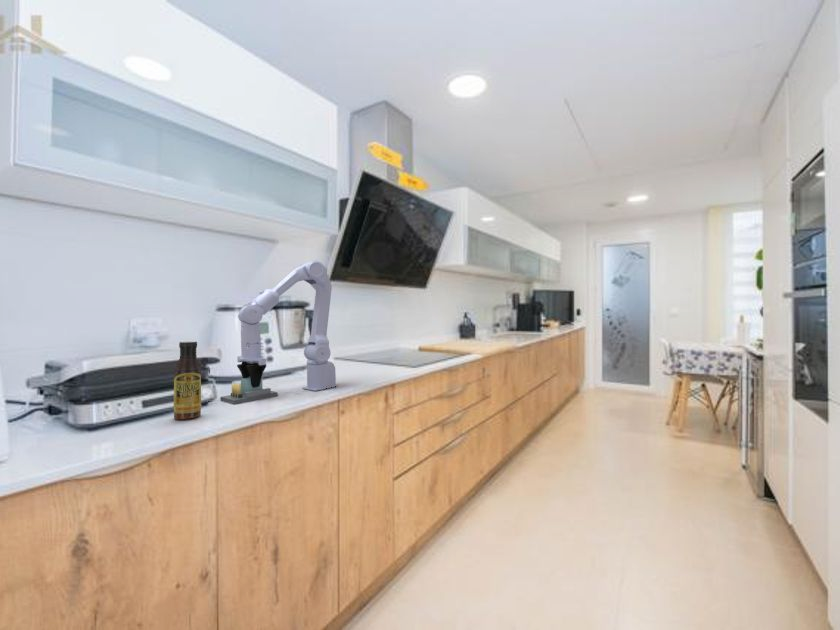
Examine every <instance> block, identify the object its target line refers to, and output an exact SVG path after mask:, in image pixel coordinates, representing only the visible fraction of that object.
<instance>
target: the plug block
mask: <svg viewBox="0 0 840 630" xmlns="http://www.w3.org/2000/svg"><path fill="white" fill-rule="evenodd" d="M240 384H241V394H242V395H244V392H249V391H255V390H260V389H264V388H263V377H262V378H261V382H260V386H259V387H254V388H253V387H252V384H251V378H250V377H249V378H243V377H242V378H241V379H240Z"/></svg>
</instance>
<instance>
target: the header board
mask: <svg viewBox="0 0 840 630" xmlns="http://www.w3.org/2000/svg"><path fill="white" fill-rule="evenodd" d="M278 395H279V393H278V391H275V390H274V391H273V390H272V388H271V387H267V388H263V389H260V390H255V391H249V392H244V395H242V394H241V383H236V382H233V383H231V392H230V395H224V396H220V397H219V398H220V400H221V402H223V401H224V403H227V404H231V405H233V406H234V405H239V404H243V403H249V402H254V401H259V400H265V399H268V398H269V399H270V398H273V397H278Z"/></svg>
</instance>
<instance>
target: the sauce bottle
mask: <svg viewBox="0 0 840 630" xmlns="http://www.w3.org/2000/svg"><path fill="white" fill-rule="evenodd" d="M197 347H198V342H197V341H194V340H193V341H189V340H186V341H185V340H184V341H179V345H178V348H179V359H178V361H177V363H176V364H175V366H174V377H173V418H174V419H175V420H178V419H180V420H184V419H186V420H191V418H192V419H197V418H199V416H201V413H202V412H201V411H202V404H201V366H202V365H201V363H200V362H199V360H198V358H197ZM196 417H197V418H196ZM184 421H185V420H184Z"/></svg>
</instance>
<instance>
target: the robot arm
mask: <svg viewBox="0 0 840 630" xmlns="http://www.w3.org/2000/svg"><path fill="white" fill-rule="evenodd" d="M302 281H304V282H306V283H307V284H310V286H311V287H312V288H313V289H314V290H315V295H314V305H313V314H312V322H311V332H310V336H309V337H308V339H307V343H306V346H305V348H304V349H303V350H304V351H303V355H304V357H305V358H306V359H307V361H306V385H307V386H303V387H301V389H303V390H309V391H313V392H317V391H322V390H326V388H327V389H332V388H335V386H337V387H338V385H337V379H336V378H337V377H336V376H337V375H336V366H335V364H334V363H333V362H332V361H329V359H330V357H331V349H330V341H329V339H328V337H327V335H328V334H327V333H328V325H329V324H328V323H329V316H330V309H331V307H330V305H331V296H332V287H333V285H332V283H331V280H330V278H329V274H328V268H327V267H326V265H324V263H322V262H321V261H319V260H311V261H310V262H304V263H302V264H301V265H299V266H298V267H296V268H294V269H293V270H291V272H290V273H288V275H286V276H285V277H284V278H283V279H282V280H281V281H280V282H278V283H277V285H276V286H274V287H272V288H271V289H270V288H266V289H265V290H264V289H262V290H260V291H259V294H258V295H257V296H256V297H255V298H254V299H252V300H249V301H248V302H247V304H248V305H246V306H243V307H242V308H240V310H239V312H238V315H237V318H238V320H239V321H240V347H241V348H240V349H241V355H239V356H238V355H237V356H236V357H237V360H236V361H237V363H239V364H236V367H237V368H238V370H239V372H240V374H241V376H242V379H243V378H249V377H250V378H251V384H252V387H253V388H254V387H259V386H260V382H261V378H262V379H263V377H262V376H263V374H264V371H265V369H266V368H267V358H266V357H263V356H262V349H261V347H262V345H261V327H260V325H261V321H262V318H263V316H264V315H266V314H268V312H269V311H271V309H273V308H274V307H275V306H276V305H277V304H279V302H280V297H281V296H282V295H283V294H285V292H287V291H288V290H289V289H290V288H292V287H293V286H294V285H295V284H297V283H298V282H302ZM331 387H332V388H331Z"/></svg>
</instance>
